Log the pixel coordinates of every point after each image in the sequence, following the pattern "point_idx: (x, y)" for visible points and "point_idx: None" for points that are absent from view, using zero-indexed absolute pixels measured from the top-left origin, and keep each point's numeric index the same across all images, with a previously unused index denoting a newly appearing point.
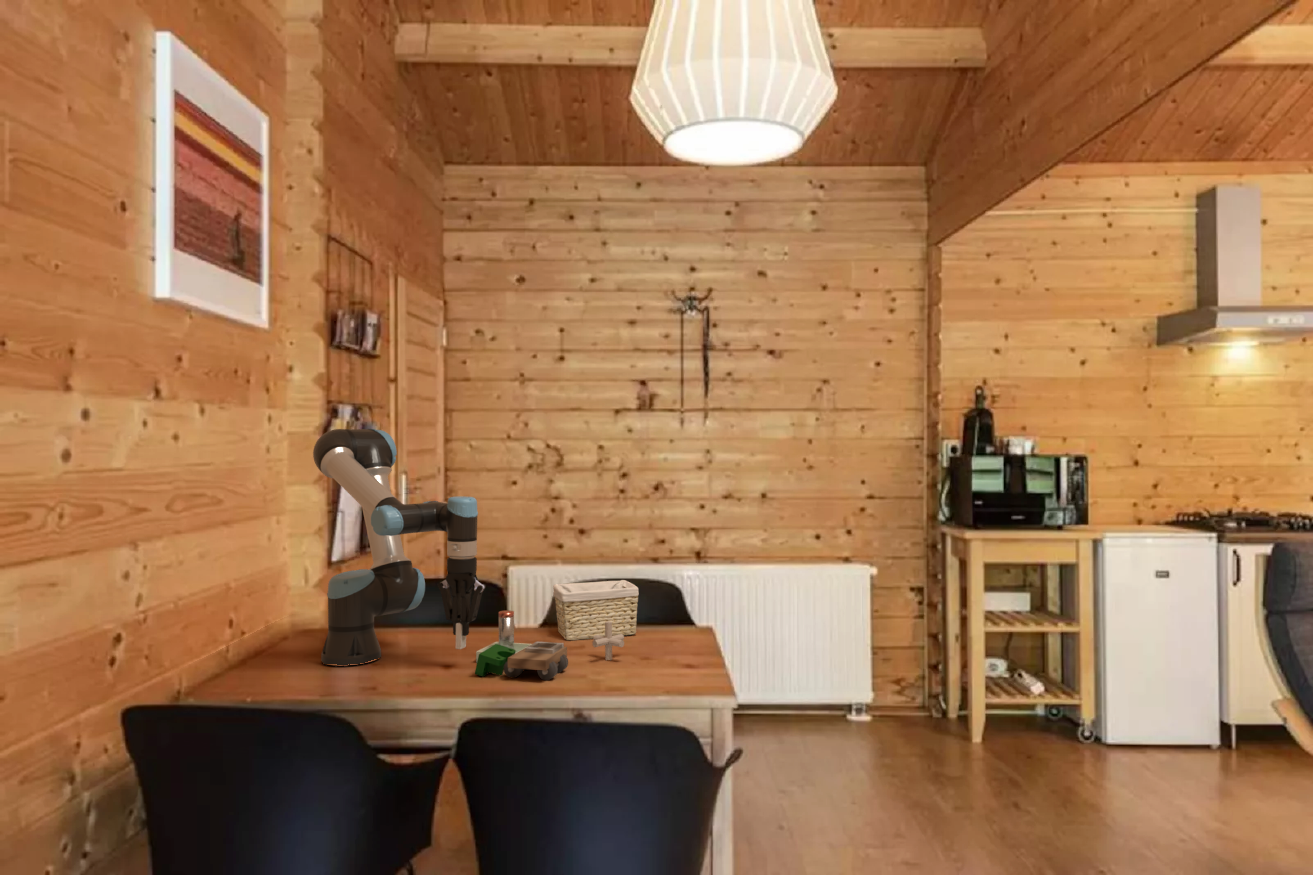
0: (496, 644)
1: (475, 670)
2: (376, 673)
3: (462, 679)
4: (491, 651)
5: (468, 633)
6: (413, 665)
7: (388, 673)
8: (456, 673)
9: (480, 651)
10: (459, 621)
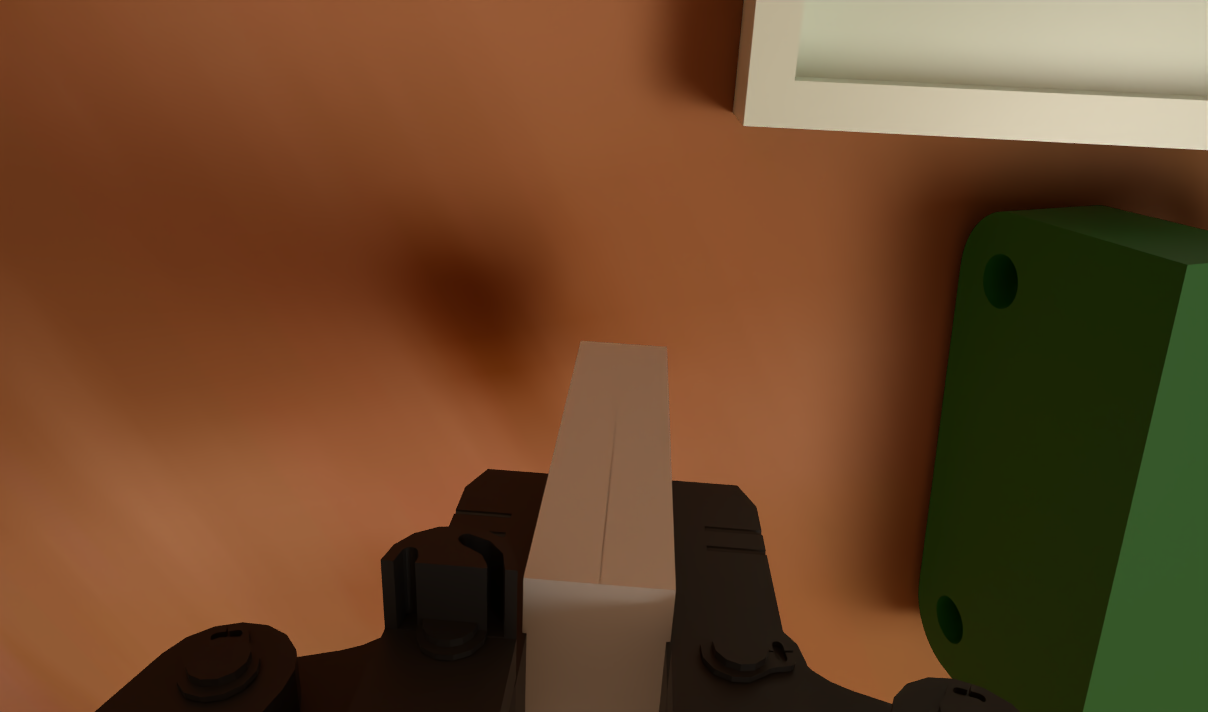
0: (1198, 293)
1: (943, 663)
2: (11, 611)
3: None
4: (1176, 620)
5: (748, 508)
6: (113, 331)
7: (102, 599)
8: None
9: (805, 104)
10: (522, 666)
